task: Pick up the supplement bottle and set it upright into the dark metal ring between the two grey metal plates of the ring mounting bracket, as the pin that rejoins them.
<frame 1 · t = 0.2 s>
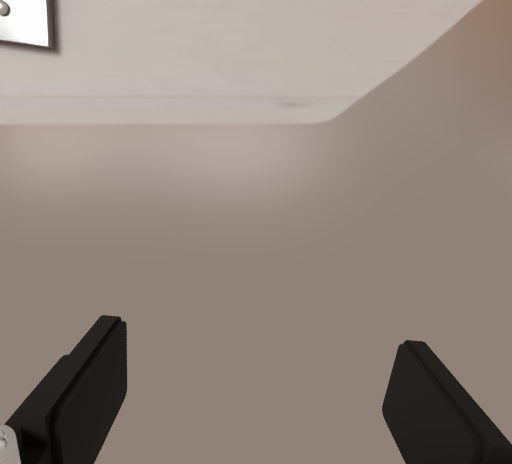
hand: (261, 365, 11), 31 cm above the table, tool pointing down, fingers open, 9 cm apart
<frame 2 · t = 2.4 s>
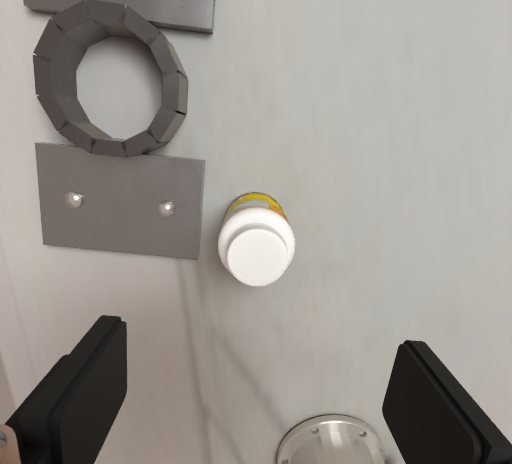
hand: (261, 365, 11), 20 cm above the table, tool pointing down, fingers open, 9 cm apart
ring mounting bracket: (125, 90, 27), on the table
supplement bottle: (254, 219, 30), on the table
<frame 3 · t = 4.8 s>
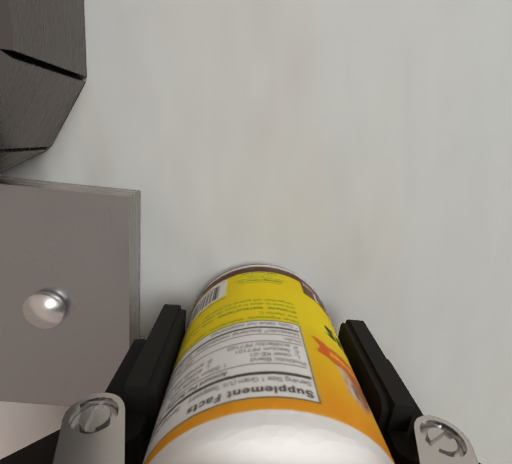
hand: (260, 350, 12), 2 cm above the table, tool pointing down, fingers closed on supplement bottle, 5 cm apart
supplement bottle: (258, 316, 14), on the table, touching gripper
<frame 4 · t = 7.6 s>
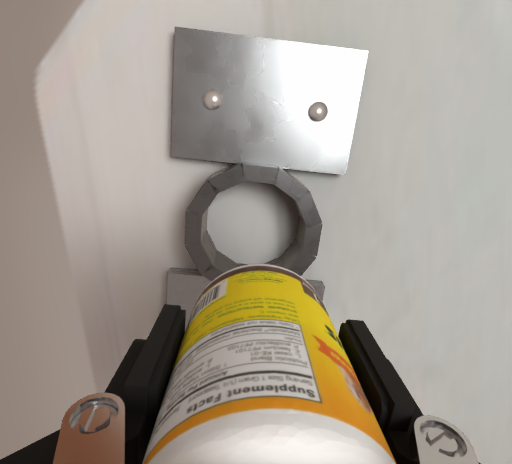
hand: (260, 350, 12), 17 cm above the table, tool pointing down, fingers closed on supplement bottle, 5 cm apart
ring mounting bracket: (252, 222, 28), on the table
supplement bottle: (258, 316, 14), point 15 cm above the table, touching gripper
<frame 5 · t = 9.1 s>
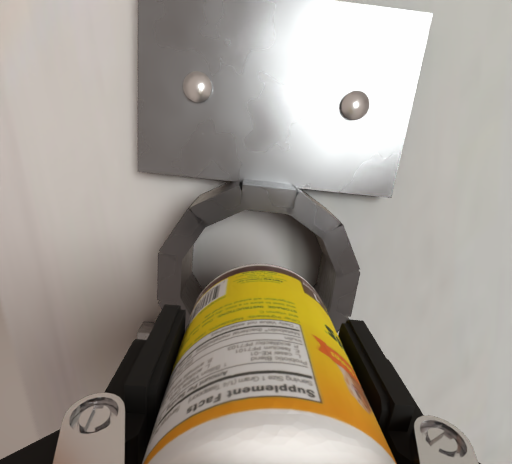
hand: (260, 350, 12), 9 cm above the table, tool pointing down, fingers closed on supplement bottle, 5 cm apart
ring mounting bracket: (256, 261, 20), on the table
supplement bottle: (258, 316, 14), point 7 cm above the table, touching gripper
when the fingers open (4 cm above the table, at t = 10.5 s): supplement bottle drops 2 cm, resting in ring mounting bracket.
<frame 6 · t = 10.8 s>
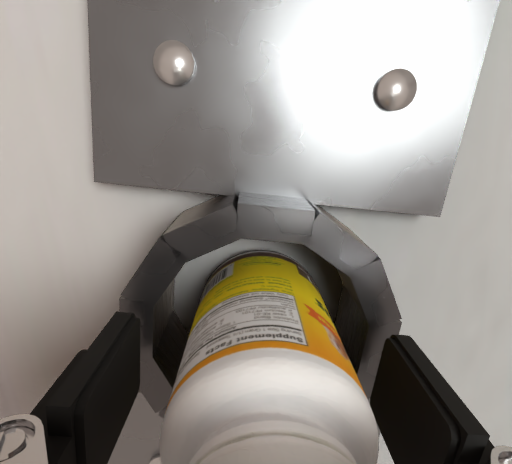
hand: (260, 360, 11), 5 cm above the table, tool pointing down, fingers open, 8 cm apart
ring mounting bracket: (257, 296, 15), on the table
supplement bottle: (260, 297, 16), resting in ring mounting bracket
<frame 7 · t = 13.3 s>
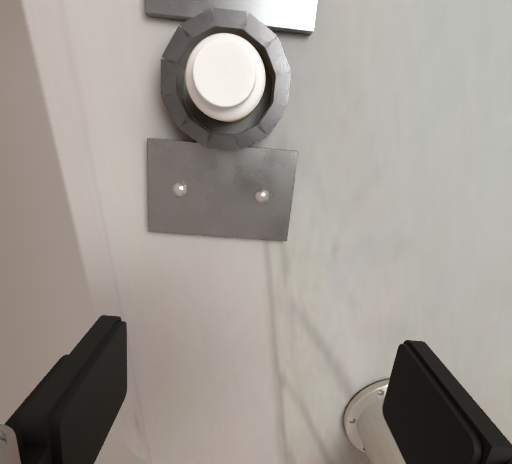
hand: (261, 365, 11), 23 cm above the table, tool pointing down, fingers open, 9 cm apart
ring mounting bracket: (227, 88, 29), on the table
supplement bottle: (229, 90, 30), resting in ring mounting bracket
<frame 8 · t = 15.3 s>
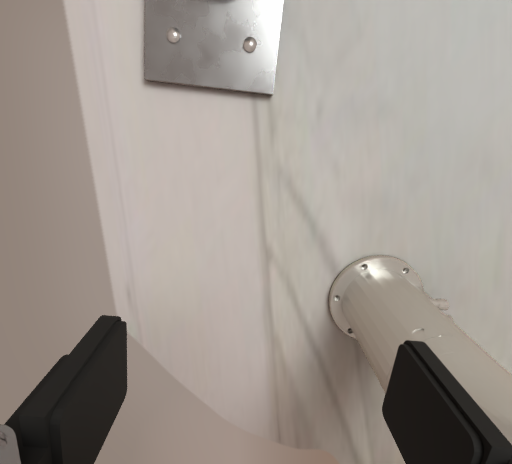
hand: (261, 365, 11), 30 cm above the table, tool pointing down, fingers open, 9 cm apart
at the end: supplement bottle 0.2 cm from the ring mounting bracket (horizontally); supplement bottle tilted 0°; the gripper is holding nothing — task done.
